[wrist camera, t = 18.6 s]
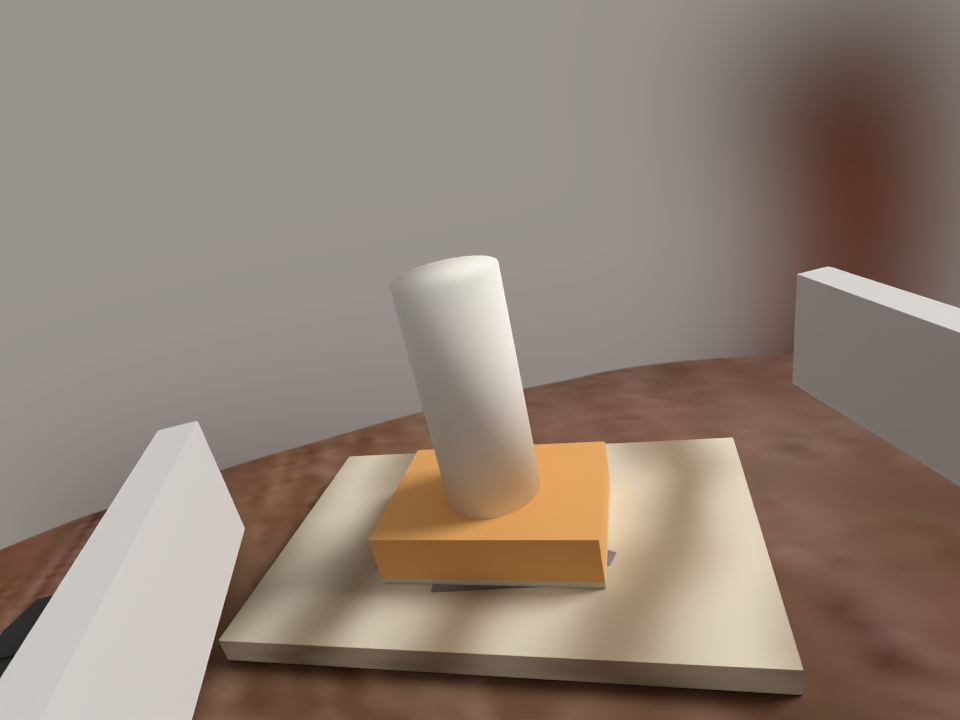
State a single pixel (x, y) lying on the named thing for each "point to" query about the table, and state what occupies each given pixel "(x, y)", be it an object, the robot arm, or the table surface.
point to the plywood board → (545, 589)
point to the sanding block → (485, 453)
